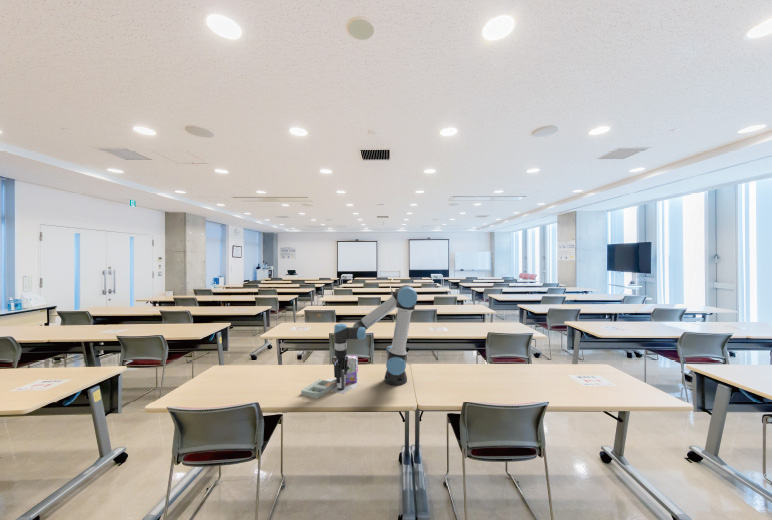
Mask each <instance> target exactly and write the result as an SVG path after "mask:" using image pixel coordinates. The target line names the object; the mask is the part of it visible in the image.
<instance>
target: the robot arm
mask: <svg viewBox="0 0 772 520" xmlns="http://www.w3.org/2000/svg"><path fill="white" fill-rule="evenodd" d="M417 301H418V293H417V291H416V289H415V288H414V287H412V286H411V285H410V284H409V285H408V284H404V285H402V286H401V287H399V288H398V289H397V290H395V291H394V292H393V293H392V294H391V297H389V298H388V299H386V300H385V301H384V302H382V303H381V304H379V306H377V307H376V308H375V309H373V310H371V311H370V312H369V313H368V314H366V315H365V316H363V317H362V318H361V319H359V320H358V321H356V322H355V323H353V325H352V327H349V326H347V324H346V323H337V324H335V325H334V326H333V327H334V328H333V329H334V332H333V338H334V341H333V342H334V356H335V361H333V373H334V375H333V376H334V378H335V379H336V378H337V382H336V386H337V388H341V377H340V376H341V369H344V385H345V386H346V382H345V374H347V373H346V372H347V360H348V356H349V355H348V351H347V350H348V349H347V348H348V345H347V344H348V342H347V341H348V340H349V341H350V340H357V341H358V340H360V341H361V340H366V337H367V332H366V331H367V330H368V329H369V328H371V327H372V326H374V325H375V324H376V323H377V322H379V321H380V320H381V319H383V318H384V317H386V316H387V315H388V314H390V313H391V312H392V311H394V310H395V309H397V312H396V319H395V325H394V330H393V337H392V342H391V345H389V346H387V347H386V365H385V367H386V371H385V373H384V376H383V377H384V378H383V380H384V383H386V384H388V385H391V386H400V385H404V384H406V383H407V382H408V376H407V372H406V368H407V365H406V364H407V363H406V361H407V356H408V352H407V351H406V348H407V347H406V346H407V341H408V337H409V336H408V335H409V329H410V323H411V317H412V312H414V311H415V307H416V303H417ZM338 364H339V365H338Z"/></svg>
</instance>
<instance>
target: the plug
mask: <svg viewBox="0 0 772 520" xmlns="http://www.w3.org/2000/svg"><path fill="white" fill-rule="evenodd" d="M340 377H341V388H338V390H344V389H345V386H346V384H345V385H344V369H341V376H340Z"/></svg>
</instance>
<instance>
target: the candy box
mask: <svg viewBox="0 0 772 520" xmlns="http://www.w3.org/2000/svg"><path fill="white" fill-rule="evenodd" d="M347 356H348V360H347V372H346V373H347V374H345V384H347V383H350V384H351V383H352V384H354V383H355V384H357V383H358V381H359V366H358V364H359V362H358V361H359V359H358V358H359V357H358V355H347ZM338 365H339V364H338ZM335 379H336V381H335V382H336V383H337V378H335Z"/></svg>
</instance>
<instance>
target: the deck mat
mask: <svg viewBox="0 0 772 520" xmlns="http://www.w3.org/2000/svg"><path fill="white" fill-rule="evenodd" d="M352 388H353V386H347V385H345V389H344V390H338V388H337V385H335V387H333V388H332V389H331V390H330V392H334V393H338V394H343V395H344V394H346V393H347V392H348V391H349V390H351V389H352Z"/></svg>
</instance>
